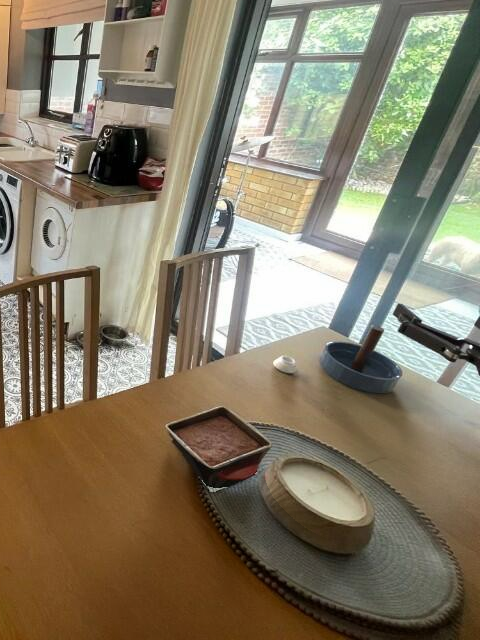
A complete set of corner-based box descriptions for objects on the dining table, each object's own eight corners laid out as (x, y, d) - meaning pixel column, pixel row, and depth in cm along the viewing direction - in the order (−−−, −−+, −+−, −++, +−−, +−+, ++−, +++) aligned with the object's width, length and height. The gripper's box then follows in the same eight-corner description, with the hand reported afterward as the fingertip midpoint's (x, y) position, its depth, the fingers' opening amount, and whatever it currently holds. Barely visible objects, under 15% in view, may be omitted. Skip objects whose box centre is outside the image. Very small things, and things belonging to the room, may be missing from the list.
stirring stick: (361, 371, 108) (384, 328, 102) (360, 376, 107) (384, 332, 101) (349, 367, 110) (371, 324, 104) (348, 372, 108) (371, 328, 102)
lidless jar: (285, 361, 113) (268, 362, 113) (289, 353, 112) (272, 353, 112) (300, 374, 109) (282, 374, 108) (304, 365, 107) (286, 366, 107)
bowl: (393, 373, 109) (402, 358, 107) (393, 404, 99) (402, 389, 97) (321, 348, 118) (328, 334, 116) (314, 374, 108) (321, 360, 106)
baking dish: (153, 444, 91) (158, 415, 85) (222, 420, 93) (231, 391, 88) (200, 509, 79) (210, 480, 73) (278, 479, 81) (293, 449, 76)
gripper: (420, 383, 73) (358, 319, 91) (615, 416, 66) (505, 339, 84) (441, 349, 69) (372, 290, 88) (648, 380, 62) (526, 308, 81)
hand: (437, 314), depth 86 cm, fingers open, 13 cm apart
